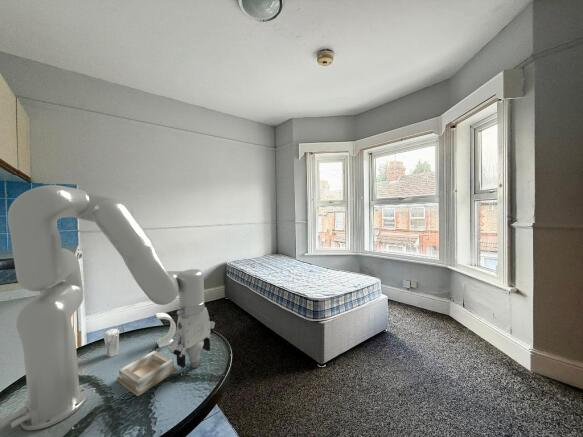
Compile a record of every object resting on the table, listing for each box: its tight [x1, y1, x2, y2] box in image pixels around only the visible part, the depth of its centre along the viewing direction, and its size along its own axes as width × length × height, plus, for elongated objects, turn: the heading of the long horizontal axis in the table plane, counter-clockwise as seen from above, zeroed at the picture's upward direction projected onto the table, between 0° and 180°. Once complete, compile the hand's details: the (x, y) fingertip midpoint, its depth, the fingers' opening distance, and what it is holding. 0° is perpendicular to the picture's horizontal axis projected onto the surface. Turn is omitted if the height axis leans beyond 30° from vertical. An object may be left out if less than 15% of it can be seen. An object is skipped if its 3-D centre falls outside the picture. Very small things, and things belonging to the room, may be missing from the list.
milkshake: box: [103, 328, 120, 358], centre depth 86 cm, size 4×5×10 cm
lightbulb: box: [185, 340, 204, 369], centre depth 79 cm, size 6×6×11 cm
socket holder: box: [116, 350, 177, 397], centre depth 75 cm, size 12×12×4 cm
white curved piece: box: [155, 312, 177, 349], centre depth 93 cm, size 5×6×12 cm
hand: (194, 357), depth 79 cm, fingers open, 9 cm apart
